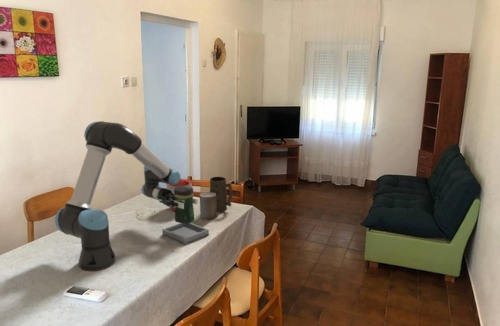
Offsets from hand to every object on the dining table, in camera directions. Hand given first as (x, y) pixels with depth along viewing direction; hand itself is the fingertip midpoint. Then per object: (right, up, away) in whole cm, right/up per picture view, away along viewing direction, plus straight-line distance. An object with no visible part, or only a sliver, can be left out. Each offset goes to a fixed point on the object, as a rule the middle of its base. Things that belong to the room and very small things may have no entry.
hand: (190, 203), depth 200 cm
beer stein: (+13, -8, +45) cm, 48 cm away
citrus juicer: (-14, -8, +47) cm, 50 cm away
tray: (-3, -17, +7) cm, 19 cm away
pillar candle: (+6, -11, +33) cm, 35 cm away
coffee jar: (-4, -10, +6) cm, 12 cm away
